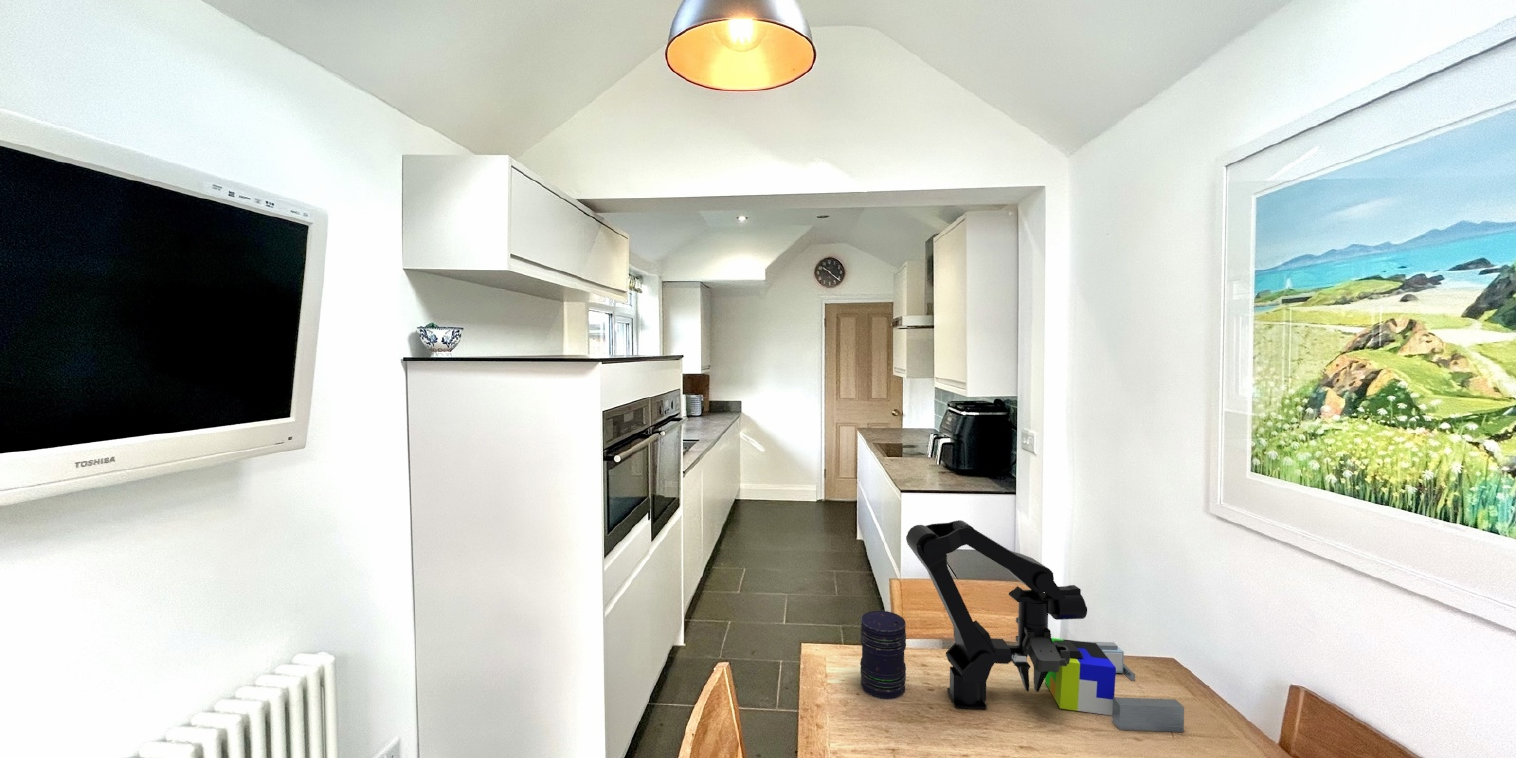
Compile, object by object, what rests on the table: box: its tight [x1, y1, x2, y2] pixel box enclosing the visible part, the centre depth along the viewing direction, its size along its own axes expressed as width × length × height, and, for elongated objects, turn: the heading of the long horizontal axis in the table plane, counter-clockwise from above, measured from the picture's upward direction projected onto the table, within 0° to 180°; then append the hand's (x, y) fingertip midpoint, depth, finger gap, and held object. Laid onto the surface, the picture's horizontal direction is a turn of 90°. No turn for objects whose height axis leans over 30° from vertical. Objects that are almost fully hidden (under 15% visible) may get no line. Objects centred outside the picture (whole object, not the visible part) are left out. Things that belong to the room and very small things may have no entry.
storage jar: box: [859, 610, 907, 700], centre depth 124 cm, size 10×10×15 cm
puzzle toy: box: [1044, 637, 1117, 716], centre depth 119 cm, size 10×10×10 cm
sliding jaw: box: [1081, 640, 1125, 674], centre depth 130 cm, size 12×3×6 cm, turn 86°
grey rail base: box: [1111, 663, 1185, 733], centre depth 121 cm, size 14×25×5 cm, turn 176°
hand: (1031, 690), depth 120 cm, fingers closed on puzzle toy
